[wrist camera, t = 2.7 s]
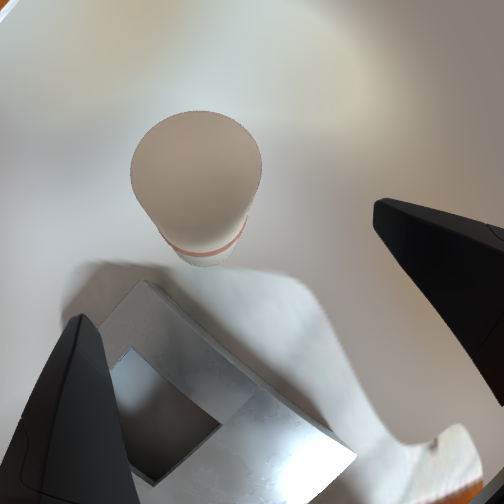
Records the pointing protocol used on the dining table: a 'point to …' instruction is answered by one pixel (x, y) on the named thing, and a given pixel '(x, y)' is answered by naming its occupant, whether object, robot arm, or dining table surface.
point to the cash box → (222, 414)
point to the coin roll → (197, 183)
